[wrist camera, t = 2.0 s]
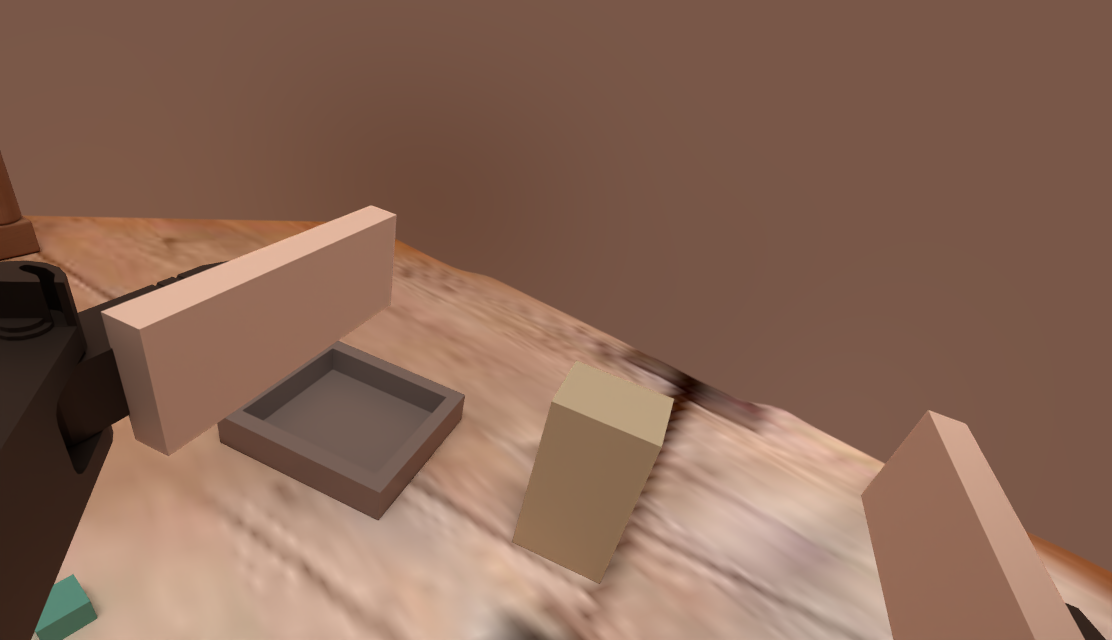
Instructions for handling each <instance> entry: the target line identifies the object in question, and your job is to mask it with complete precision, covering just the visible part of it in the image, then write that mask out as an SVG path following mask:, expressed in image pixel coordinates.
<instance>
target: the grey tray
mask: <svg viewBox="0 0 1112 640" xmlns="http://www.w3.org/2000/svg"><path fill="white" fill-rule="evenodd" d="M464 399H465V395H464V394H461V393H459V392H457V391H454V390H452V389H450V388H447V387H445V386H443V385H440V384H438V383H436V382H433V381H431V380H429V379H426V378H424V377H422V376H419V375H417V374H415V373H412V372H410V371H408V370H405V369H403V368H401V367H398V366H396V365H394V364H391V363H389V362H387V361H384V360H382V359H380V358H377V357H375V356H373V355H370V354H368V353H366V352H363V351H361V350H359V349H356V348H354V347H352V346H349V345H347V344H345V343H342V342H340V341H337V342H335V343H334V344H332V345H331V346H329V347H328V348H327V349H325V350H324V351H322V352H321V353H319V354H318V355H316V356H315V357H313V358H312V359H310V360H309V361H307V362H306V363H305V364H303V365H302V366H300V367H299V368H297V369H296V370H294V371H293V372H291V373H290V374H288V375H287V376H285V377H284V378H283V379H281V380H280V381H278V382H277V383H275V384H274V385H272V386H271V387H269V388H268V389H266V390H265V391H263V392H262V393H261V394H259V395H258V396H256V397H255V398H253V399H252V400H250V401H249V402H247V403H246V404H244V405H243V406H242V407H240V408H239V409H237V410H236V411H234V412H233V413H231V414H230V415H228V416H227V417H225V418H224V419H222V420H221V421H220V422H218V423H217V424H218V430H219V436H220V442H221V443H223V444H225V445H227V446H229V447H231V448H233V449H235V450H237V451H239V452H241V453H243V454H246V455H248V456H250V457H252V458H254V459H256V460H258V461H260V462H262V463H264V464H266V465H268V466H270V467H272V468H274V469H276V470H278V471H280V472H282V473H284V474H286V475H288V476H290V477H292V478H294V479H296V480H298V481H300V482H302V483H304V484H306V485H308V486H310V487H312V488H314V489H316V490H318V491H320V492H322V493H324V494H326V495H328V496H330V497H332V498H334V499H336V500H338V501H340V502H343V503H345V504H347V505H349V506H351V507H353V508H355V509H357V510H359V511H361V512H363V513H365V514H367V515H369V516H371V517H373V518H375V519H377V520H379V519H380V517H381V516H382V515H383V514H384V513H385V511H386V510H387V509H388V508H389V507H390V505H391V504H392V503H393V502H394V500H395V499H396V498H397V497H398V496H399V494H400V493H401V492H402V491H403V490H404V488H405V487H406V486H407V485H408V483H409V482H410V481H411V480H412V479H413V477H414V476H415V475H416V474H417V472H418V471H419V470H420V469H421V468H422V466H423V465H424V464H425V463H426V462H427V460H428V459H429V458H430V457H431V455H432V454H433V453H434V452H435V451H436V449H437V448H438V447H439V446H440V445H441V443H442V442H443V441H444V440H445V438H446V437H447V436H448V435H449V434H450V432H451V431H452V430H453V429H454V428H455V426H456V425H457V424H458V423H459V421H460V420H461V417H462V411H463V405H464Z"/></svg>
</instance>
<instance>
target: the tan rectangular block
mask: <svg viewBox="0 0 1112 640" xmlns="http://www.w3.org/2000/svg"><path fill="white" fill-rule="evenodd" d="M673 401H674V399H672V398H670V397H667V396H665V395H662V394H660V393H657V392H655V391H652V390H650V389H647V388H645V387H642V386H639V385H637V384H634V383H632V382H629V381H627V380H624V379H622V378H619V377H617V376H614V375H612V374H609V373H607V372H604V371H602V370H599V369H597V368H594V367H591V366H589V365H586V364H584V363H581V362H579V361H576V362H575V364H574V365H573V367H572V369H571V370H570V372H569V374H568V375H567V377H566V379H565V380H564V382H563V384H562V385H561V387H560V389H559V390H558V392H557V393H556V395H555V397H554V398H553V400H552V402H551V406H550V409H549V413H548V416H547V420H546V423H545V427H544V431H543V434H542V438H541V441H540V445H539V448H538V452H537V455H536V459H535V463H534V466H533V470H532V473H531V477H530V480H529V484H528V488H527V491H526V495H525V498H524V502H523V505H522V509H521V512H520V516H519V520H518V523H517V527H516V530H515V534H514V537H513V541H512V542H513V543H515V544H517V545H519V546H521V547H524V548H526V549H528V550H530V551H532V552H534V553H536V554H538V555H540V556H542V557H545V558H547V559H549V560H551V561H553V562H555V563H557V564H559V565H561V566H563V567H565V568H568V569H570V570H572V571H574V572H576V573H578V574H580V575H582V576H584V577H586V578H589V579H591V580H593V581H595V582H597V583H599V584H600V582H601V580H602V578H603V575H604V573H605V571H606V569H607V567H608V564H609V562H610V560H611V558H612V555H613V553H614V551H615V549H616V547H617V544H618V542H619V540H620V538H621V536H622V533H623V531H624V529H625V527H626V524H627V522H628V520H629V518H630V516H631V513H632V511H633V509H634V507H635V505H636V502H637V500H638V498H639V496H640V493H641V491H642V489H643V487H644V485H645V482H646V480H647V478H648V476H649V474H650V471H651V469H652V467H653V465H654V463H655V460H656V458H657V456H658V454H659V451H660V449H661V447H662V443H663V439H664V435H665V432H666V428H667V424H668V420H669V416H670V412H671V409H672V405H673Z"/></svg>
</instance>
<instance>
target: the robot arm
mask: <svg viewBox="0 0 1112 640" xmlns="http://www.w3.org/2000/svg"><path fill="white" fill-rule="evenodd" d="M395 229H396V214H393V213H390V212H388V211H385V210H382V209H380V208H377V207H374V206H368V207H366V208H363V209H361V210H359V211H356V212H353V213H351V214H348V215H345V216H343V217H341V218H338V219H336V220H333V221H330V222H328V223H325V224H323V225H320V226H317V227H315V228H312V229H310V230H307V231H305V232H302V233H300V234H297V235H295V236H292V237H290V238H287V239H284V240H282V241H279V242H277V243H274V244H272V245H269V246H267V247H264V248H262V249H259V250H256V251H254V252H251V253H249V254H246V255H244V256H241V257H239V258H236V259H234V260H231V261H225V262H220V263H214V264H208V265H202V266H199V267H197V268H194V269H192V270H189V271H186V272H184V273H181V274H179V275H177V277H176V278H174V277H171V278H168V279H165V280H163V281H160V282H158V283H157V285H156V286H154V285H150V286H147V287H144V288H142V289H139V290H137V291H134V292H131V293H129V294H126V295H124V296H121V297H118V298H116V299H113V300H110V301H108V302H105V303H103V304H100V305H97V306H95V307H92V308H89V309H87V310H84V311H82V312H79V313H77V309H76V306H75V303H74V299H73V296H72V293H71V289H70V286H69V283H68V279H67V276H66V274H65V273H64V272H63V271H62V270H61V269H60V268H59V267H56V266H53V265H51V264H48V263H43V262H33V261H6V262H0V640H31V638H32V636H33V634H34V631H35V629H36V626H37V624H38V621H39V619H40V617H41V614H42V612H43V609H44V607H45V604H46V602H47V600H48V597H49V595H50V592H51V590H52V587H53V585H54V583H55V580H56V578H57V575H58V573H59V570H60V568H61V566H62V563H63V561H64V558H65V556H66V553H67V551H68V549H69V546H70V544H71V541H72V539H73V536H74V534H75V531H76V529H77V527H78V524H79V522H80V519H81V517H82V514H83V512H84V510H85V507H86V505H87V502H88V500H89V497H90V495H91V493H92V490H93V488H94V485H95V483H96V480H97V478H98V476H99V473H100V471H101V468H102V466H103V463H104V461H105V459H106V456H107V454H108V451H109V449H110V446H111V444H112V442H113V430H112V426H111V425H112V424H114V423H116V422H117V421H119V420H121V419H122V418H124V417H126V416H128V415H129V418H130V421H131V425H132V429H133V432H134V436H135V439H136V440H138V441H140V442H142V443H144V444H146V445H148V446H150V447H151V448H153V449H155V450H157V451H159V452H161V453H163V454H165V455H167V456H170V455H171V454H173V453H174V452H176V451H177V450H178V449H180V448H181V447H183V446H184V445H186V444H187V443H189V442H190V441H192V440H193V439H195V438H196V437H198V436H199V435H200V434H202V433H203V432H205V431H206V430H208V429H209V428H211V427H212V426H214V425H215V424H217V423H218V422H220V421H221V420H222V419H224V418H225V417H227V416H228V415H230V414H231V413H233V412H234V411H236V410H237V409H239V408H240V407H242V406H243V405H244V404H246V403H247V402H249V401H250V400H252V399H253V398H255V397H256V396H258V395H259V394H261V393H262V392H263V391H265V390H266V389H268V388H269V387H271V386H272V385H274V384H275V383H277V382H278V381H280V380H281V379H283V378H284V377H285V376H287V375H288V374H290V373H291V372H293V371H294V370H296V369H297V368H299V367H300V366H302V365H303V364H305V363H306V362H307V361H309V360H310V359H312V358H313V357H315V356H316V355H318V354H319V353H321V352H322V351H324V350H325V349H327V348H328V347H329V346H331V345H332V344H334V343H335V342H337V341H338V340H340V339H341V338H343V337H344V336H346V335H347V334H349V333H350V332H351V331H353V330H354V329H356V328H357V327H359V326H360V325H362V324H363V323H365V322H366V321H368V320H369V319H371V318H372V317H373V316H375V315H376V314H378V313H379V312H381V311H382V310H384V309H385V308H387V307H388V306H390V304H391V289H392V274H393V259H394V244H395ZM861 497H862V502H863V506H864V511H865V515H866V519H867V524H868V528H869V533H870V537H871V542H872V546H873V551H874V555H875V559H876V564H877V568H878V573H879V577H880V582H881V586H882V591H883V595H884V599H885V604H886V608H887V613H888V617H889V622H890V626H891V631H892V635H893V639H894V640H1106V639H1105V638H1104V637H1103V636H1102V635H1101V633H1100V632H1099V631H1098V630H1097V629H1096V628H1095V627H1094V626H1093V624H1092V623H1091V622H1090V621H1089V620H1088V619H1087V618H1086V616H1085V615H1084V614H1083V613H1082V612H1081V611H1080V610H1079V609H1078V608H1076V607H1074V606H1071V605H1069V604H1067V603H1065V602H1064V601H1063V599H1062V597H1061V595H1060V593H1059V592H1058V590H1057V588H1056V586H1055V584H1054V582H1053V581H1052V579H1051V577H1050V575H1049V573H1048V572H1047V570H1046V568H1045V566H1044V564H1043V562H1042V561H1041V559H1040V557H1039V555H1038V553H1037V552H1036V550H1035V548H1034V546H1033V544H1032V543H1031V541H1030V539H1029V537H1028V535H1027V533H1026V532H1025V530H1024V528H1023V526H1022V525H1021V523H1020V521H1019V519H1018V517H1017V515H1016V514H1015V512H1014V510H1013V508H1012V506H1011V504H1010V503H1009V501H1008V499H1007V497H1006V496H1005V493H1004V492H1003V490H1002V488H1001V486H1000V484H999V483H998V481H997V479H996V477H995V475H994V474H993V472H992V470H991V468H990V466H989V464H988V463H987V461H986V459H985V457H984V455H983V454H982V452H981V450H980V448H979V446H978V444H977V443H976V441H975V439H974V437H973V436H972V434H971V432H970V430H969V428H968V426H967V424H965V423H962V422H959V421H957V420H954V419H951V418H948V417H946V416H943V415H940V414H937V413H935V412H932V411H929V410H928V411H927V412H926V413H925V415H924V416H923V417H922V419H921V420H920V421H919V422H918V424H917V425H916V426H915V427H914V429H913V430H912V431H911V433H910V434H909V435H908V436H907V438H906V439H905V440H904V442H903V443H902V444H901V445H900V446H899V448H898V449H897V450H896V452H895V453H894V454H893V455H892V457H891V458H890V459H889V460H888V462H887V463H886V464H885V465H884V467H883V468H882V469H881V471H880V472H879V473H878V474H877V476H876V477H875V478H874V479H873V481H872V482H871V483H870V485H869V486H868V487H867V488H866V490H865V491H864V492H863V493H862V495H861Z"/></svg>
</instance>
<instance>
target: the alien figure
mask: <svg viewBox="0 0 1112 640" xmlns="http://www.w3.org/2000/svg"><path fill="white" fill-rule="evenodd" d="M95 619H97V616H96V613H95V611H94V609H93V607H92V604H91V602H90V600H89V599H88V597H87V595H86V594H85V592H84V591H83V589H82V587H81V586H80V584H79V583H78V581H77V579H76V578H75V576H74V575H71V576H69V577H67V578H65V579H64V580H62V581H60V582H58V583H56V584H54V585H53V587H52V590H51V592H50V595H49V597H48V600H47V602H46V604H45V607H44V609H43V612H42V614H41V617H40V619H39V621H38V624H37V626H36V629H35V632H36V633H37V635H38V637H39V639H40V640H62V639H64V638H66V637H67V636H69V635H71V634H72V633H74V632H76V631H77V630H79V629H81V628H82V627H84V626H85V625H87V624H89V623H90V622H92V621H94V620H95Z"/></svg>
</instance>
